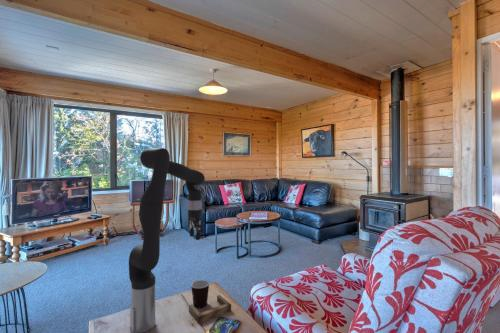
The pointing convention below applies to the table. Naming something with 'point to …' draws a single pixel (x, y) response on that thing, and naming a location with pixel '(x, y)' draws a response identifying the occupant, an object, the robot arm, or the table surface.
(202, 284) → the coffee mug
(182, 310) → the table surface
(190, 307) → the walnut corral
